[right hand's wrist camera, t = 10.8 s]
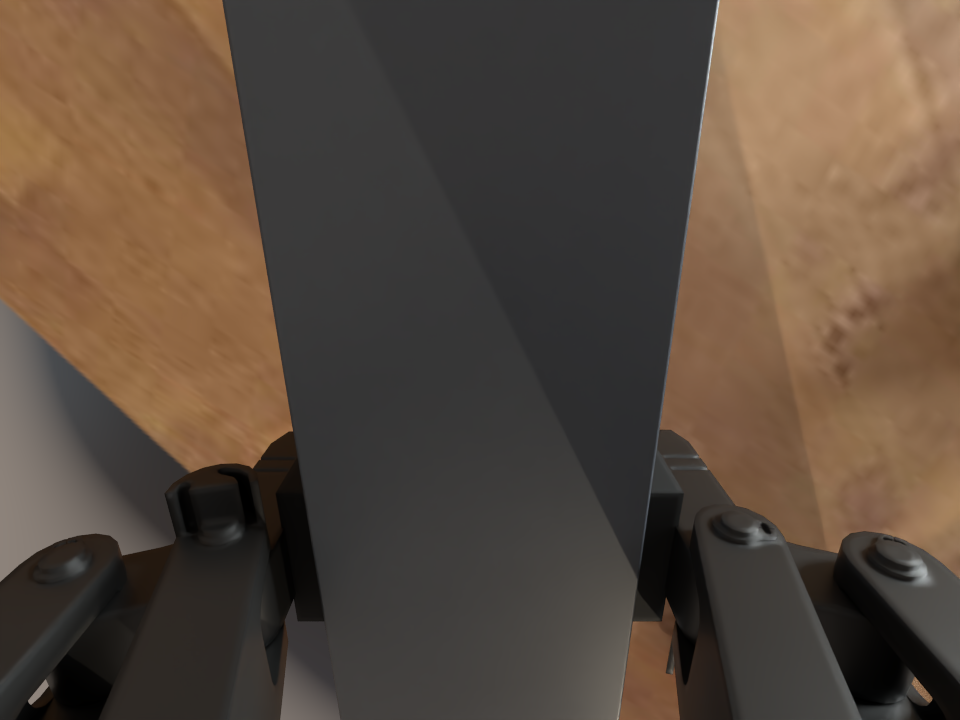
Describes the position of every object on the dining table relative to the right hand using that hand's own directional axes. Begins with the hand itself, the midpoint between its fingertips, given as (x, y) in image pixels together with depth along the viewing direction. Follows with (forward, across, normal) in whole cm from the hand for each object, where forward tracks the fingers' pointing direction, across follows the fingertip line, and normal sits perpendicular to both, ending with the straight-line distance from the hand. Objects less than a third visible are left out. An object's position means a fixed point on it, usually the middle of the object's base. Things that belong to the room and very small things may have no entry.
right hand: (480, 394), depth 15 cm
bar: (0, 0, -28) cm, 28 cm away
